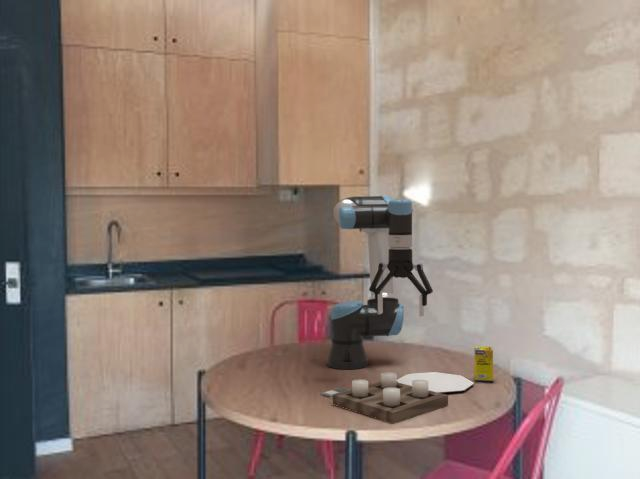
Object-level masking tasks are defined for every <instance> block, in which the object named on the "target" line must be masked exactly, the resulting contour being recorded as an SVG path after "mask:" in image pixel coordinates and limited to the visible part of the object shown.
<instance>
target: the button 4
mask: <svg viewBox="0 0 640 479" xmlns="http://www.w3.org/2000/svg"><path fill="white" fill-rule="evenodd" d="M412 396H414V397H427V396H428V381H426V380H413V381H412Z"/></svg>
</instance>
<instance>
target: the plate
mask: <svg viewBox="0 0 640 479" xmlns="http://www.w3.org/2000/svg"><path fill="white" fill-rule="evenodd" d="M413 380H426V381H428V390H429V391H433V392H437V393H441V394H447V393H462V392H465V391H466V390H467V389H469V388H470V387H472V386H474V382H473V381H471V380H470V379H468V378H466V377H465V376H463V375H459V374H453V373H443V372H435V371H431V372H417V373H407V374H405V375H404V376H401V377H400V378H398V379H397V383H401V384H405V385H409V386H412V381H413Z"/></svg>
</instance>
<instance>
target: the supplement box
mask: <svg viewBox="0 0 640 479" xmlns="http://www.w3.org/2000/svg"><path fill="white" fill-rule="evenodd" d="M473 357H474V377H473V378H474V379H473V380H474V382H475V383H484V384H485V383H486V384H487V383H489V384H490V383H491V384H492V383H494V349H493V346H474V356H473Z"/></svg>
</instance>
